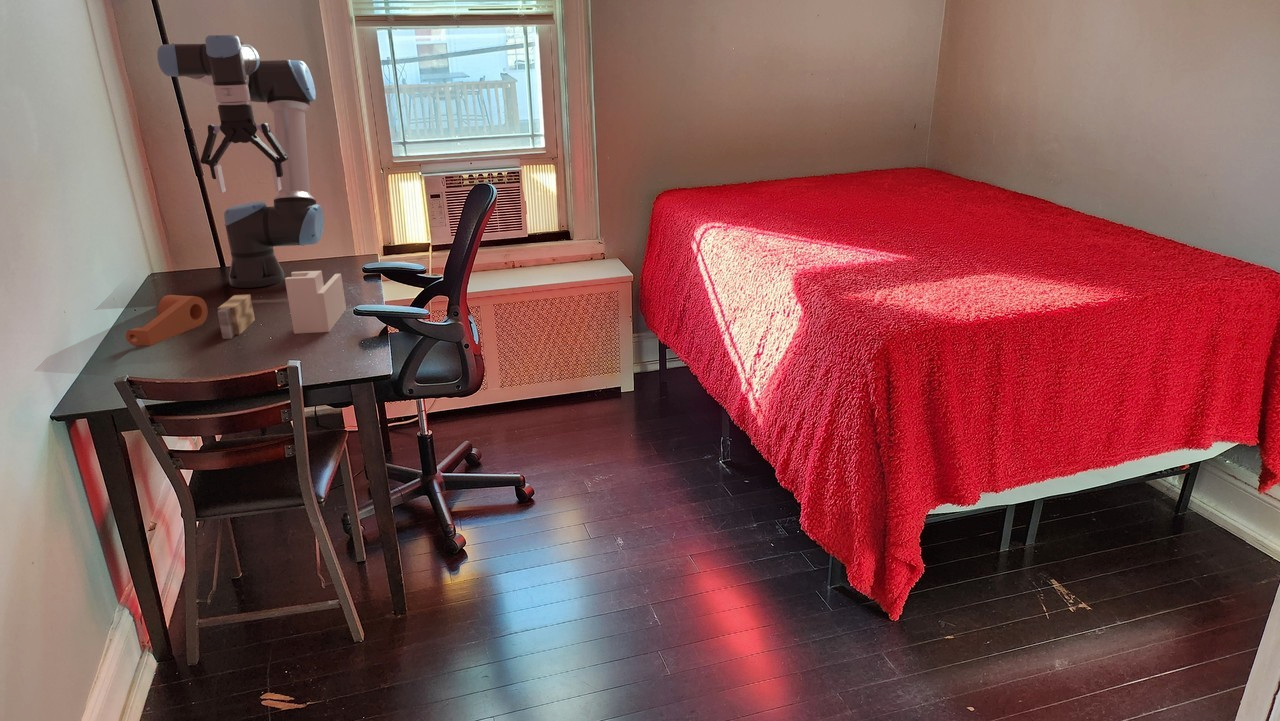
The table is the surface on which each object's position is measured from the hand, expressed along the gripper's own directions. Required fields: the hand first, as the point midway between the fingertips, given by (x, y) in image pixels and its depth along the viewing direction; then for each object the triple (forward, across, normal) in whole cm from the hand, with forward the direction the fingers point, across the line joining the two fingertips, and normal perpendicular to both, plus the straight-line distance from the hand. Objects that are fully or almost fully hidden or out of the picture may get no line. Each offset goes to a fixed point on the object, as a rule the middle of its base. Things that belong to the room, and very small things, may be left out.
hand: (250, 191), depth 210 cm
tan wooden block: (+33, -6, -10) cm, 35 cm away
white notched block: (+33, +13, -14) cm, 38 cm away
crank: (+33, -23, -10) cm, 42 cm away
